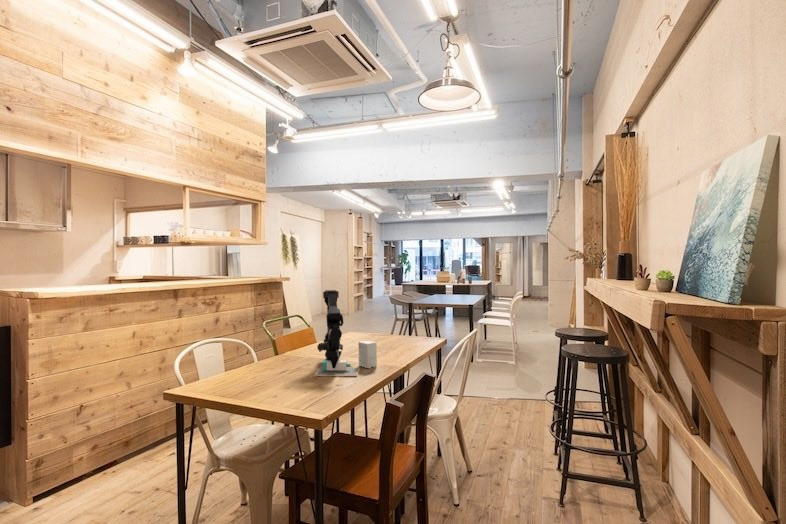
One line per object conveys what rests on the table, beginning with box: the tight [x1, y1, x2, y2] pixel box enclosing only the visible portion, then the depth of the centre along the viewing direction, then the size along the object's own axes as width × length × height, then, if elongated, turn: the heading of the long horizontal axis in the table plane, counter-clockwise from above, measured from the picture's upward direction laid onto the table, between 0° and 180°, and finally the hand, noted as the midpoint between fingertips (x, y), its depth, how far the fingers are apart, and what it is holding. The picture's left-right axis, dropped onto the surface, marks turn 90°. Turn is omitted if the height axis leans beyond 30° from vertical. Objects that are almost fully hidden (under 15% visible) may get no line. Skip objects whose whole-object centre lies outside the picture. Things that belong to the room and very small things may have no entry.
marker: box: [321, 359, 351, 370], centre depth 216 cm, size 4×14×4 cm, turn 88°
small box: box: [358, 340, 378, 369], centre depth 225 cm, size 8×6×13 cm
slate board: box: [313, 366, 361, 378], centre depth 214 cm, size 15×21×1 cm
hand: (334, 367), depth 216 cm, fingers closed on marker, 4 cm apart
